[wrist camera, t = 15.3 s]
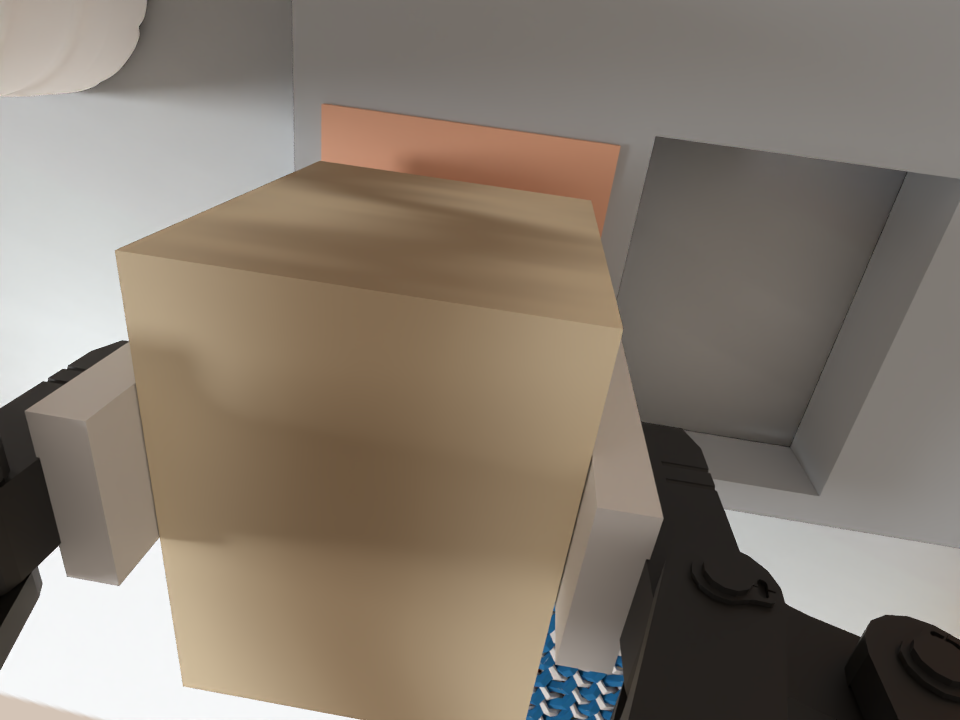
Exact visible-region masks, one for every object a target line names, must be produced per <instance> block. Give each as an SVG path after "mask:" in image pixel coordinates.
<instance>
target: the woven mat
mask: <svg viewBox="0 0 960 720" xmlns="http://www.w3.org/2000/svg"><path fill="white" fill-rule="evenodd" d="M623 681H624V676H623V667H622V658H621V649H620V651H619V654H618V657H617V660H616V663H615V666H614V669H613V671H612V674H611V675H610V674H605V673H599V672H594V671H588V670H583V669H577V668H572V667H566V666H560V665H555V605H554V609H553V613H552V617H551V621H550V625H549V629H548V633H547V637H546V641H545V645H544V649H543V653H542V657H541V661H540V665H539V669H538V673H537V677H536V681H535V685H534V689H533V693H532V697H531V701H530V705H529V709H528V713H527V717H526V720H610V718H611V715H612V712H613V710H614V707H615V704H616V701H617V698H618V695H619V692H620V690H621V687H622V684H623Z"/></svg>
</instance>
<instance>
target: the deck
mask: <svg viewBox="0 0 960 720" xmlns="http://www.w3.org/2000/svg"><path fill="white" fill-rule="evenodd" d="M292 47H293V106H294V165H295V171H297V170H300V169H302V168H304V167H307V166H309V165H311V164H313V163H316V162H318V161H325V162H332V163H339V164H346V165H353V166H359V167H366V168H373V169H380V170H387V171H394V172H400V173H407V174H414V175H421V176H428V177H435V178H441V179H448V180H455V181H462V182H469V183H476V184H482V185H489V186H496V187H503V188H510V189H517V190H524V191H530V192H537V193H544V194H551V195H558V196H565V197H571V198H578V199H585V200H591V201H592V205H593V209H594V213H595V217H596V221H597V225H598V229H599V233H600V237H601V242H602V246H603V250H604V254H605V258H606V262H607V266H608V270H609V274H610V278H611V282H612V286H613V290H614V294H615V298H616V300H617V296H618V292H619V288H620V284H621V279H622V275H623V271H624V267H625V263H626V258H627V254H628V250H629V246H630V242H631V237H632V233H633V229H634V225H635V221H636V216H637V212H638V208H639V204H640V200H641V195H642V191H643V187H644V183H645V179H646V174H647V170H648V166H649V162H650V158H651V153H652V149H653V145H654V141H655V137H656V136H658V137H665V138H672V139H679V140H687V141H694V142H701V143H708V144H715V145H722V146H729V147H736V148H744V149H751V150H758V151H765V152H772V153H779V154H786V155H793V156H800V157H808V158H815V159H822V160H829V161H836V162H843V163H850V164H857V165H865V166H872V167H879V168H886V169H893V170H900V171H907V175H906V177H905V179H904V182H903V184H902V186H901V189H900V191H899V193H898V196H897V198H896V200H895V203H894V205H893V207H892V210H891V212H890V214H889V217H888V219H887V222H886V224H885V226H884V229H883V231H882V233H881V236H880V238H879V240H878V243H877V245H876V247H875V250H874V252H873V254H872V257H871V259H870V261H869V264H868V266H867V268H866V271H865V273H864V275H863V278H862V280H861V282H860V285H859V287H858V289H857V292H856V294H855V296H854V299H853V301H852V304H851V306H850V308H849V311H848V313H847V315H846V318H845V320H844V322H843V325H842V327H841V329H840V332H839V334H838V336H837V339H836V341H835V343H834V346H833V348H832V350H831V353H830V355H829V357H828V360H827V362H826V364H825V367H824V369H823V371H822V374H821V376H820V379H819V381H818V383H817V386H816V388H815V390H814V393H813V395H812V397H811V400H810V402H809V404H808V407H807V409H806V411H805V414H804V416H803V418H802V421H801V423H800V425H799V428H798V430H797V432H796V435H795V437H794V439H793V442H792V444H791V446H790V447H784V446H778V445H772V444H765V443H759V442H753V441H747V440H741V439H735V438H728V437H722V436H716V435H710V434H704V433H698V432H691V431H685V430H684V431H685V432H686V433H687V434H688V435H689V436H690V437H691V438H692V439H693V440H694V441H695V443H696V444H697V445H698V446H699V447H700V448H701V449H702V452H703V455H704V457H705V460H706V463H707V465H708V468H709V470H708V473H711V476H712V479H713V481H714V484H715V490H716V491H717V492H718V495H719V498H720V500H721V503H722V506H723V508H724V509H727V510H733V511H739V512H745V513H751V514H757V515H763V516H769V517H775V518H781V519H787V520H793V521H799V522H805V523H811V524H817V525H823V526H829V527H835V528H840V529H846V530H852V531H858V532H864V533H870V534H876V535H882V536H888V537H894V538H900V539H906V540H912V541H918V542H924V543H930V544H936V545H942V546H948V547H954V548H960V0H292Z"/></svg>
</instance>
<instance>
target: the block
mask: <svg viewBox="0 0 960 720" xmlns="http://www.w3.org/2000/svg"><path fill="white" fill-rule="evenodd" d="M115 254H116V261H117V267H118V273H119V280H120V286H121V293H122V299H123V305H124V312H125V318H126V324H127V331H128V337H129V344H130V350H131V356H132V363H133V369H134V376H135V382H136V388H137V395H138V401H139V408H140V414H141V420H142V427H143V433H144V439H145V446H146V452H147V459H148V465H149V471H150V478H151V484H152V491H153V497H154V503H155V510H156V516H157V523H158V529H159V535H160V542H161V548H162V554H163V561H164V567H165V574H166V580H167V586H168V593H169V599H170V606H171V612H172V618H173V625H174V631H175V638H176V644H177V650H178V657H179V663H180V669H181V676H182V682H183V686H185V687H190V688H195V689H201V690H206V691H211V692H217V693H222V694H227V695H233V696H238V697H243V698H249V699H254V700H259V701H265V702H270V703H275V704H281V705H286V706H291V707H297V708H302V709H307V710H313V711H318V712H323V713H329V714H334V715H339V716H345V717H350V718H355V719H361V720H526V717H527V713H528V709H529V705H530V701H531V697H532V693H533V689H534V685H535V681H536V677H537V673H538V669H539V665H540V661H541V657H542V653H543V649H544V645H545V641H546V637H547V633H548V629H549V625H550V621H551V617H552V613H553V609H554V605H555V601H556V597H557V593H558V589H559V585H560V581H561V577H562V573H563V569H564V565H565V561H566V557H567V553H568V549H569V545H570V541H571V537H572V533H573V529H574V525H575V521H576V517H577V513H578V509H579V505H580V501H581V497H582V493H583V489H584V485H585V481H586V477H587V473H588V469H589V465H590V461H591V457H592V453H593V449H594V445H595V441H596V437H597V433H598V429H599V425H600V421H601V417H602V413H603V409H604V405H605V401H606V397H607V393H608V389H609V385H610V381H611V377H612V373H613V369H614V365H615V361H616V357H617V353H618V349H619V345H620V341H621V337H622V333H623V326H622V322H621V318H620V314H619V310H618V306H617V302H616V298H615V294H614V290H613V286H612V282H611V278H610V274H609V270H608V266H607V262H606V258H605V254H604V250H603V246H602V242H601V237H600V233H599V229H598V225H597V221H596V217H595V213H594V209H593V205H592V201H591V200H585V199H578V198H571V197H565V196H558V195H551V194H544V193H537V192H530V191H524V190H517V189H510V188H503V187H496V186H489V185H482V184H476V183H469V182H462V181H455V180H448V179H441V178H435V177H428V176H421V175H414V174H407V173H400V172H394V171H387V170H380V169H373V168H366V167H359V166H353V165H346V164H339V163H332V162H325V161H318V162H316V163H313V164H311V165H309V166H307V167H304V168H302V169H300V170H297V171H295V172H293V173H291V174H288V175H286V176H284V177H281V178H279V179H277V180H275V181H272V182H270V183H268V184H265V185H263V186H261V187H259V188H256V189H254V190H252V191H249V192H247V193H245V194H243V195H240V196H238V197H236V198H233V199H231V200H229V201H227V202H224V203H222V204H220V205H217V206H215V207H213V208H210V209H208V210H206V211H204V212H201V213H199V214H197V215H194V216H192V217H190V218H188V219H185V220H183V221H181V222H178V223H176V224H174V225H172V226H169V227H167V228H165V229H162V230H160V231H158V232H156V233H153V234H151V235H149V236H146V237H144V238H142V239H140V240H137V241H135V242H133V243H130V244H128V245H126V246H124V247H121V248H119V249H117V250H115Z"/></svg>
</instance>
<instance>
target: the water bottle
mask: <svg viewBox="0 0 960 720" xmlns="http://www.w3.org/2000/svg"><path fill="white" fill-rule="evenodd" d="M146 7H147V0H0V96H3V97H24V96H40V95H53V94H66V93H73V92H79V91H83V90H86V89H89V88H92V87H94V86H96V85H98V84H99V82H101V81H104V80H106V79H108V78H110V77H111V76H113V75H114V74H115V73H116V72H117V71H119V70H120V69H121V67H122V66H123V65H124V64H125V63H126V61H127V60H128V59H129V57H130V56H131V54H132V52H133V51H134V49H135V47H136V45H137V42H138V40H139V36H140V31H139V25H140V24H141V23H142V21H143V19H144V17H145V13H146Z"/></svg>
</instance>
